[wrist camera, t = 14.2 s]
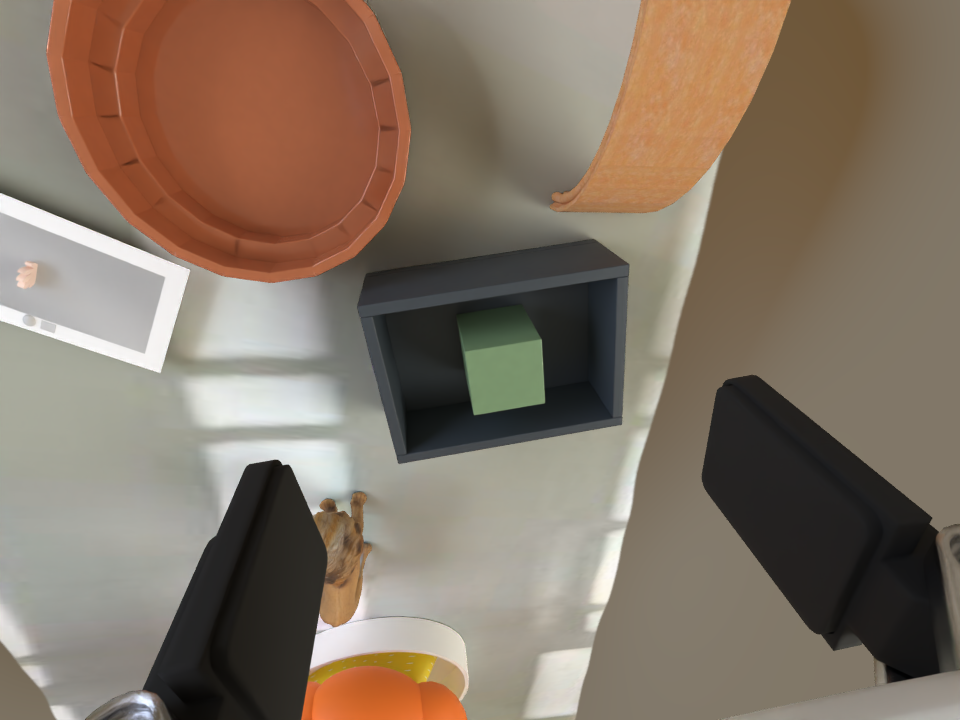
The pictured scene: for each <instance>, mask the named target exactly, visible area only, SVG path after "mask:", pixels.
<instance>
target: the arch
mask: <svg viewBox="0 0 960 720" xmlns="http://www.w3.org/2000/svg"><path fill="white" fill-rule="evenodd" d="M790 2H791V0H641V5H640V10H639V15H638V20H637V25H636V29H635V34H634V39H633V43H632V47H631V51H630V55H629V59H628V63H627V67H626V70H625V74H624V78H623V82H622V86H621V89H620V92H619V95H618V98H617V101H616V104H615V107H614V110H613V113H612V116H611V120H610V122H609V125H608V127H607V130H606V132H605V135H604V137H603V140H602V142H601V145H600V147H599V150H598V152H597V154H596V156H595V157H594V159H593V161H592V163H591V165H590V167H589V169H588V171H587V172H586V174H585V175H584V177H583V178H582V179H581V181H580V182H579V184H578V185H577V186H576V187H575V188H573V189H572V190H571V191H564V193H563V194H562V193H559V192H554V193H553V194H552V200H553V201H555V202H554V203H553V204H551V205H550V209H552V210H555V211H557V212H611V213H647V212H654V211H658V210H660V209H663V208H665V207H667V206H669V205H671V204H673V203H674V202H675V201H677V200H678V199H679V198H680V197H682V196H683V195H684V194H685V193H687V192H688V191H689V190H690V189H691V188H692V187H693V186H694V185H695V184H696V183H697V182H698V180H699V179H700V178H701V177H702V176H703V175H704V174H705V173H706V172H707V170H708V169H709V168H710V167H711V165H712V164H713V163H714V161H715V160H716V158H717V157H718V155H719V154H720V152H721V151H722V150H723V148H724V147H725V145H726V144H727V142H728V141H729V139H730V138H731V136H732V134H733V133H734V131H735V129H736V127H737V125H738V123H739V121H740V120H741V118H742V116H743V115H744V113H745V111H746V109H747V107H748V106H749V104H750V102H751V100H752V98H753V96H754V93H755V91H756V89H757V87H758V84H759V82H760V80H761V78H762V75H763V73H764V71H765V69H766V67H767V64H768V62H769V60H770V58H771V55H772V53H773V50H774V48H775V45H776V42H777V39H778V36H779V33H780V31H781V28H782V25H783V22H784V19H785V16H786V14H787V11H788V7H789V5H790Z"/></svg>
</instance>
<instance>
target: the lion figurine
mask: <svg viewBox="0 0 960 720" xmlns="http://www.w3.org/2000/svg"><path fill="white" fill-rule="evenodd" d="M366 499H367V497H366V495H365V494H364V493H362V492H356V493H354V494H353V495H352V500H351V502H350V504H351V509H352V516H351V517H349V515H348V514H347V513H346V512H345V511H341V512H337V507H336V504H335V502H334V501H333V500H332V499H325V500H323V501H322V502H321V504H320V508H321V509H322V510H324V511H322V512H318V513H317V514H315V515H313V518H314V521H315V523H316V525H317V528H318V530H319V532H320V534H321V537H322V539H323V541H324V544H325V546H326V549H327V556H328V563H327V570H326V576H325V582H324V588H323V594H322V599H321V605H320V616H321V618H322V620H323V621H324V622H325V623H327V624H330V625H332V626H333V627H338V626H340V625H341V624H344V623H346V622H347V621H349V620H350V619H351V617H352V616H353V615H354V613H355V611H356V609H357V606H358V603H359V599H360V595H361V590H362V581H363V575H362V573H363V568H364V564H365V560H366V558H367V556H368V554H369V553H370V551H371V549H372V546H371V544H369V543H363V542H364V540H363V536H362V532H363V505H364V503H365V501H366Z"/></svg>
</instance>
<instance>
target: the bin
mask: <svg viewBox="0 0 960 720" xmlns="http://www.w3.org/2000/svg"><path fill="white" fill-rule="evenodd" d="M628 276H629V264H628V263H627V262H625V261H624V260H622V259H621V258H620V257H618V256H617V255H616V254H614V253H613V252H611V251H610V250H609V249H607V248H606V247H604V246H603V245H602V244H600V243H599V242H597V241H596V240H594V239H592V240H585V241H579V242H572V243H565V244H559V245H552V246H545V247H539V248H532V249H526V250H519V251H512V252H506V253H499V254H493V255H486V256H479V257H473V258H466V259H460V260H453V261H446V262H440V263H433V264H427V265H420V266H413V267H407V268H400V269H393V270H387V271H380V272H374V273H367V274H366V276H365V279H364V283H363V287H362V291H361V294H360V298H359V302H358V305H357V308H358V312H359V316H360V319H361V323H362V327H363V331H364V335H365V338H366V342H367V346H368V350H369V354H370V357H371V361H372V365H373V369H374V373H375V376H376V380H377V384H378V388H379V392H380V395H381V399H382V403H383V407H384V411H385V414H386V418H387V422H388V426H389V430H390V433H391V437H392V441H393V445H394V449H395V452H396V455H397V460H398V463H399V464H401V463H407V462H412V461H418V460H424V459H430V458H435V457H441V456H447V455H452V454H458V453H464V452H469V451H475V450H481V449H486V448H492V447H498V446H503V445H509V444H515V443H521V442H526V441H532V440H538V439H543V438H549V437H555V436H560V435H566V434H572V433H577V432H583V431H589V430H594V429H600V428H606V427H611V426H617V425H622V411H623V389H624V366H625V344H626V322H627V299H628ZM520 304H522V305H523V307H524V309H525V311H526V313H527V314H528V316H529V318H530V320H531V321H532V323H533V325H534V327H535V329H536V330H537V332H538V334H539V336H540V337H541V339H542V353H543V371H544V390H545V403H543V404H537V405H532V406H526V407H520V408H514V409H508V410H503V411H497V412H491V413H485V414H479V415H474V414H473V409H472V404H471V399H470V395H469V390H468V385H467V380H466V375H465V370H464V363H463V356H462V350H461V343H460V337H459V330H458V324H457V317H456V315H457V314H463V313H469V312H476V311H482V310H488V309H495V308H501V307H507V306H514V305H520Z"/></svg>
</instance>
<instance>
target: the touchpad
mask: <svg viewBox="0 0 960 720" xmlns="http://www.w3.org/2000/svg"><path fill="white" fill-rule="evenodd" d="M189 273H190V269H187V268H185V267H182V266H180V265H177V264H175V263H172V262H170V261H167V260H165V259H162V258H160V257H157V256H155V255H153V254H150V253H148V252H145V251H143V250H140V249H138V248H135V247H133V246H130V245H128V244H125V243H123V242H120V241H118V240H115V239H113V238H111V237H108V236H106V235H103V234H101V233H98V232H96V231H93V230H91V229H88V228H86V227H83V226H81V225H78V224H76V223H73V222H71V221H68V220H66V219H64V218H61V217H59V216H56V215H54V214H51V213H49V212H46V211H44V210H41V209H39V208H36V207H34V206H31V205H29V204H26V203H24V202H22V201H19V200H17V199H14V198H12V197H9V196H7V195H4V194H2V193H0V321H3V322H6V323H10V324H13V325H16V326H19V327H22V328H25V329H28V330H31V331H34V332H37V333H40V334H43V335H46V336H49V337H52V338H55V339H58V340H61V341H64V342H67V343H70V344H73V345H76V346H79V347H82V348H85V349H88V350H91V351H95V352H98V353H101V354H104V355H107V356H110V357H113V358H116V359H119V360H122V361H125V362H128V363H131V364H134V365H137V366H140V367H143V368H146V369H149V370H152V371H155V372H158V373H161V369H162V366H163V363H164V359H165V356H166V352H167V349H168V345H169V342H170V339H171V335H172V332H173V328H174V325H175V321H176V318H177V314H178V311H179V308H180V304H181V301H182V297H183V294H184V290H185V287H186V284H187V280H188V277H189Z"/></svg>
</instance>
